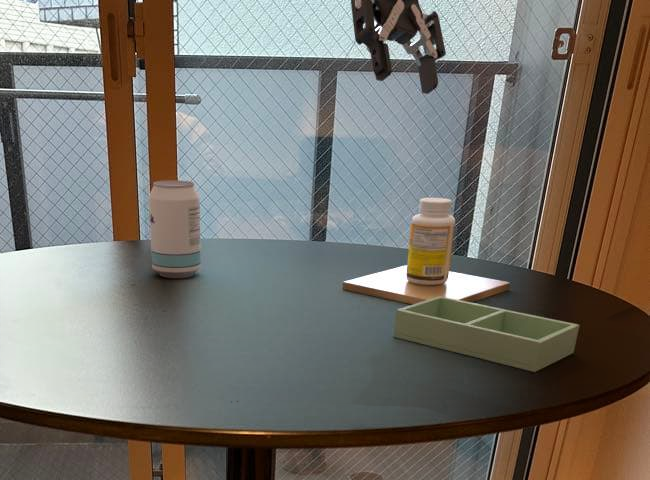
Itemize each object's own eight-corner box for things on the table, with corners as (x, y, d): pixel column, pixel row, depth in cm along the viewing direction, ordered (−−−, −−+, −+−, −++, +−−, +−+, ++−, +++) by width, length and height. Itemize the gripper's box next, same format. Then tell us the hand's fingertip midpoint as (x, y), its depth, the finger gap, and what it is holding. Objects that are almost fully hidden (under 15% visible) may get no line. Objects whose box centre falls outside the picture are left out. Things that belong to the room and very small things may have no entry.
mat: (409, 271, 118) (410, 264, 117) (509, 289, 108) (510, 282, 108) (342, 289, 108) (342, 281, 107) (445, 311, 98) (446, 303, 98)
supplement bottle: (422, 275, 111) (431, 195, 106) (455, 282, 107) (467, 200, 102) (396, 281, 108) (404, 199, 103) (430, 288, 104) (440, 204, 99)
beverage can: (156, 268, 118) (152, 179, 112) (203, 269, 117) (201, 180, 111) (148, 279, 112) (144, 186, 106) (198, 280, 111) (196, 186, 105)
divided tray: (435, 321, 94) (439, 295, 93) (573, 353, 84) (579, 324, 83) (393, 336, 89) (396, 309, 87) (534, 372, 79) (540, 342, 77)
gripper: (368, -78, 97) (389, 55, 97) (447, -44, 105) (466, 78, 105) (327, -35, 103) (348, 90, 103) (405, -7, 111) (424, 109, 111)
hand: (407, 84), depth 104 cm, fingers open, 8 cm apart
